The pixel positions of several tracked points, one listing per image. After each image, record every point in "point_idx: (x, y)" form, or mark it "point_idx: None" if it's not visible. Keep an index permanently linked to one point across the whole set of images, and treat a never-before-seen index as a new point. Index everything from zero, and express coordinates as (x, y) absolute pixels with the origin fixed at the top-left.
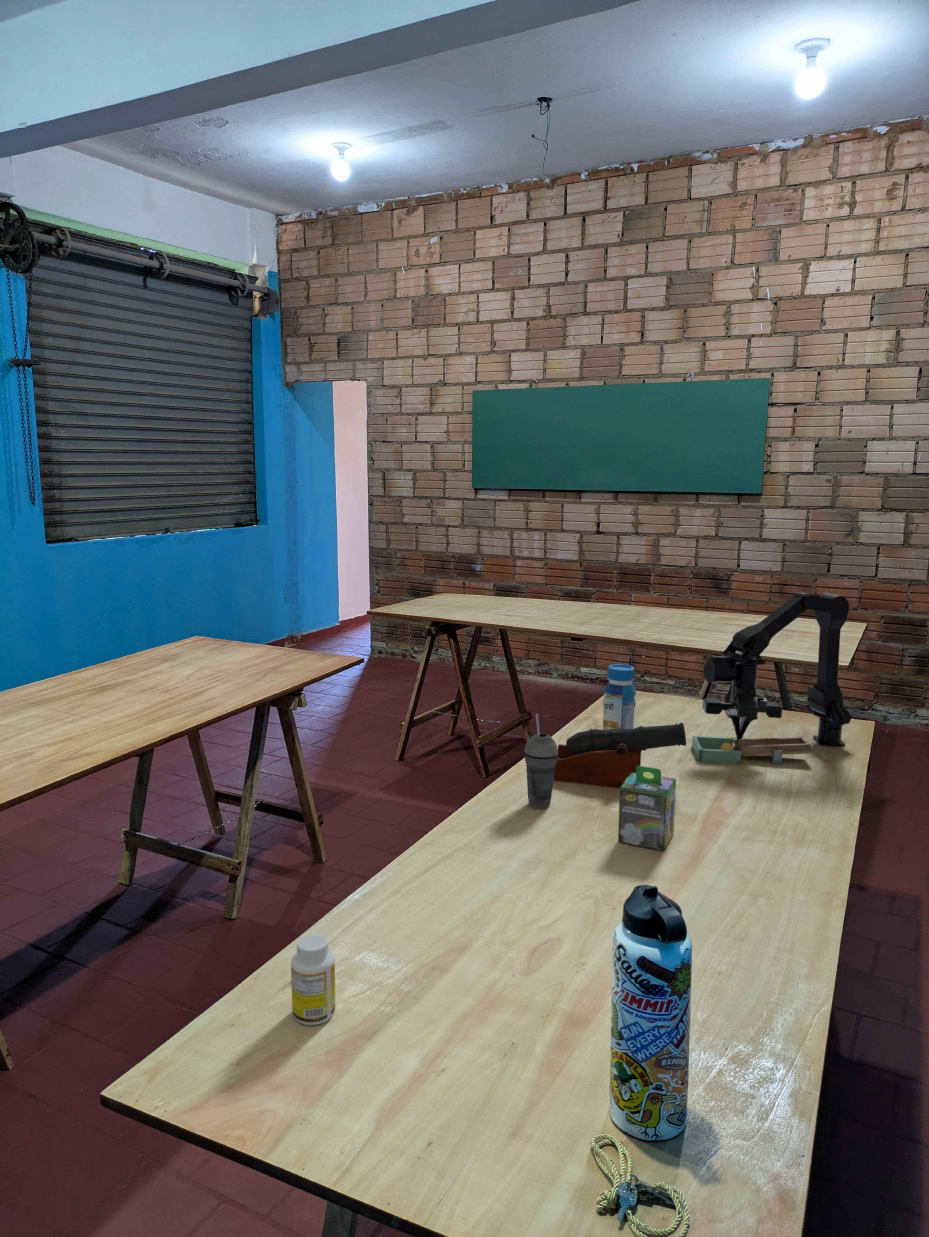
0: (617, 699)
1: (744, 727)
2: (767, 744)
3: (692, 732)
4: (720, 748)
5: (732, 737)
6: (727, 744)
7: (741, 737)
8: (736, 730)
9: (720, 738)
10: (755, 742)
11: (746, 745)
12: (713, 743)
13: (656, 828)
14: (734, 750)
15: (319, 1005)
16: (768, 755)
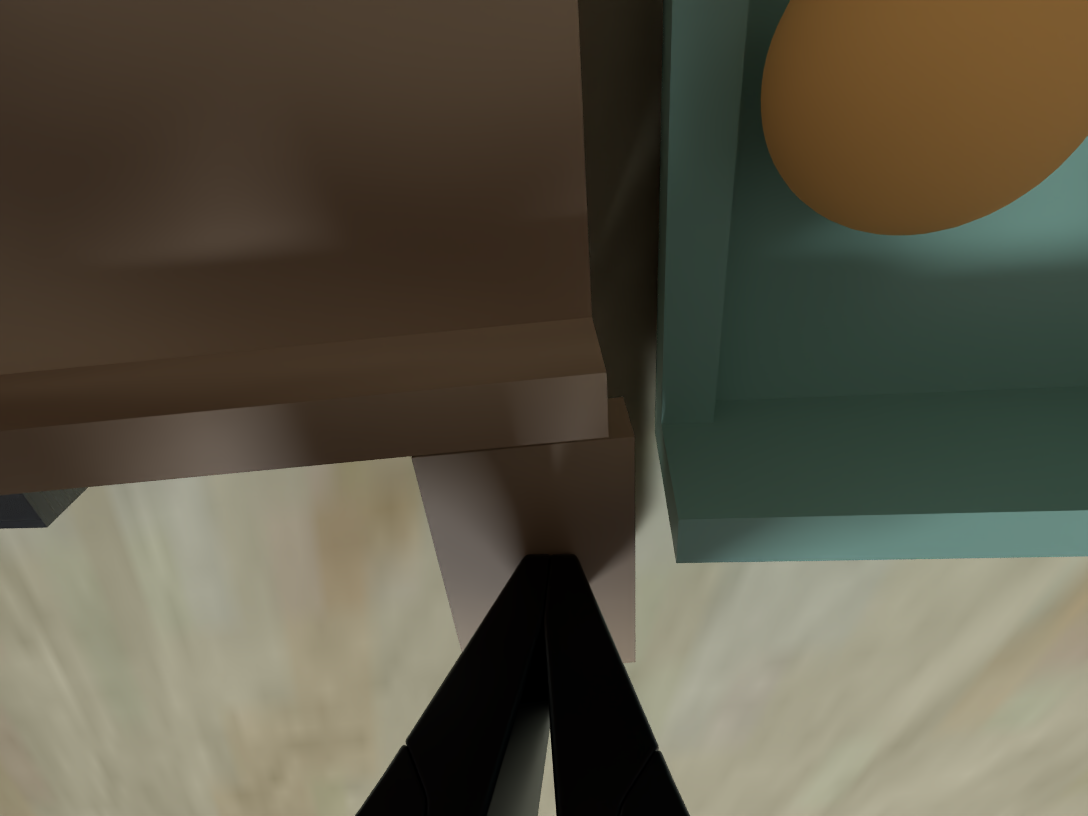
0: None
1: (435, 793)
2: (5, 363)
3: (941, 789)
4: (849, 392)
5: (630, 650)
6: (1042, 4)
7: (514, 589)
8: (628, 708)
9: (941, 510)
10: (232, 375)
11: (438, 308)
12: (1017, 435)
13: None
14: (674, 243)
15: None
16: None
